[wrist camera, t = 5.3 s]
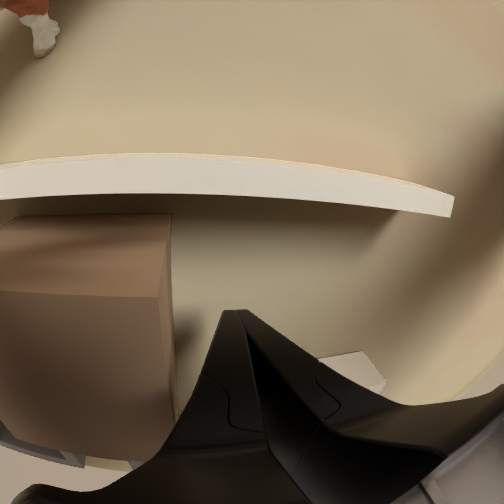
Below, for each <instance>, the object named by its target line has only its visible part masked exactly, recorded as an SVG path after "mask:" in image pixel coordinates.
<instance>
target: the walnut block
mask: <svg viewBox="0 0 504 504" xmlns="http://www.w3.org/2000/svg"><path fill="white" fill-rule="evenodd" d="M178 419H179V414H178V398H177V375H176V352H175V339H174V325H173V308H172V286H171V214H100V215H59V216H33V217H15V218H14V219H12V220H11V221H9V222H7V223H6V224H4V225H3V226H1V227H0V420H1V421H2V422H3V424H4V425H5V426H6V427H7V429H8V430H9V431H10V432H11V434H12V435H13V436H14V437H15V438H16V439H19V440H22V441H25V442H29V443H32V444H36V445H39V446H43V447H47V448H51V449H55V450H60V451H64V452H69V453H74V454H80V455H86V456H92V457H99V458H106V459H115V460H125V461H139V462H147V461H148V460H150V459H151V458H152V457H153V456H154V455H155V454H156V453H157V452H158V451H159V450H160V448H161V447H162V445H163V444H164V442H165V441H166V439H167V438H168V436H169V434H170V433H171V431H172V429H173V428H174V426H175V424H176V423H177V421H178Z"/></svg>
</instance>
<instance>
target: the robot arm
mask: <svg viewBox="0 0 504 504" xmlns="http://www.w3.org/2000/svg"><path fill="white" fill-rule="evenodd" d="M11 504H504V384H501V385H499V386H498V387H497V388H496V389H494V390H493V391H491V392H489V393H487V394H484V395H481V396H478V397H474V398H468V399H463V400H456V401H450V402H443V403H435V404H427V405H416V406H411V405H403V404H399V403H396V402H394V401H391V400H389V399H387V398H385V397H383V396H381V395H379V394H377V393H375V392H373V391H371V390H369V389H367V388H365V387H363V386H361V385H359V384H357V383H355V382H354V381H352V380H350V379H348V378H346V377H344V376H343V375H341V374H339V373H338V372H336V371H335V370H333V369H332V368H330V367H328V366H327V365H325V364H324V363H322V362H319V360H318V359H316V358H315V357H314V356H312V355H311V354H309V353H308V352H306V351H305V350H303V349H302V348H300V347H299V346H298V345H296V344H295V343H293V342H292V341H290V340H289V339H288V338H286V337H285V336H283V335H282V334H281V333H279V332H278V331H276V330H275V329H274V328H272V327H271V326H269V325H268V324H267V323H265V322H264V321H262V320H261V319H260V318H258V317H257V316H256V315H254V314H253V313H251V312H250V311H249V310H247V309H243V310H224V311H223V312H222V315H221V317H220V320H219V323H218V326H217V329H216V331H215V334H214V337H213V340H212V342H211V345H210V348H209V351H208V354H207V356H206V359H205V362H204V365H203V367H202V370H201V373H200V375H199V378H198V381H197V384H196V386H195V388H194V391H193V393H192V396H191V398H190V399H189V401H188V403H187V405H186V407H185V409H184V411H183V412H182V414H181V416H180V417H179V419H178V421H177V423H176V424H175V426H174V428H173V429H172V431H171V433H170V434H169V436H168V438H167V439H166V441H165V442H164V444H163V445H162V447H161V448H160V450H159V451H158V452H157V453H156V454H155V455H154V456H153V457H152V458H151V459H150V460H148V461H147V462H145V463H144V464H142V465H141V466H139V467H138V468H136V469H134V470H133V471H131V472H130V473H128V474H127V475H125V476H123V477H122V478H120V479H119V480H117V481H115V482H113V483H112V484H110V485H108V486H106V487H104V488H102V489H99V490H95V491H90V492H78V491H70V490H66V489H62V488H58V487H54V486H50V485H45V484H33V485H31V486H30V487H28V488H27V489H25V490H24V491H22V492H21V493H20V494H18V495H17V496H16V497H15V498H14V500H13V501H12V503H11Z"/></svg>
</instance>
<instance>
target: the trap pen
mask: <svg viewBox="0 0 504 504" xmlns="http://www.w3.org/2000/svg"><path fill="white" fill-rule="evenodd" d="M115 193H177V194H214V195H238V196H257V197H273V198H287V199H300V200H312V201H324V202H334V203H344V204H354V205H363V206H371V207H379V208H387V209H395V210H403V211H410V212H417V213H424V214H430V215H437V216H443V217H449V218H450V216H451V212H452V207H453V203H454V198H455V197H454V196H452V195H449V194H446V193H443V192H440V191H437V190H434V189H431V188H428V187H425V186H422V185H419V184H416V183H413V182H409V181H404V180H400V179H395V178H391V177H386V176H381V175H376V174H371V173H366V172H360V171H355V170H349V169H343V168H337V167H330V166H324V165H317V164H310V163H302V162H294V161H286V160H277V159H267V158H257V157H245V156H232V155H216V154H193V153H114V154H93V155H78V156H66V157H55V158H46V159H37V160H29V161H22V162H15V163H8V164H2V165H0V200H3V199H14V198H27V197H41V196H58V195H80V194H115ZM318 360H319V362H322V363H324V364H325V365H327V366H328V367H330V368H332V369H333V370H335V371H336V372H338V373H339V374H341V375H343V376H344V377H346V378H348V379H350V380H352V381H354V382H355V383H357V384H359V385H361V386H363V387H365V388H367V389H369V390H371V391H373V392H375V393H377V394H379V393H381V391H382V390H383V388H384V386H385V384H386V383H387V382H386V380H385V379H384V378H383V377H382V375H381V374H380V373H379V371H378V370H377V369H376V367H375V366H374V365H373V364H372V362H371V361H370V360H369V358H368V357H367V356H366V354H365V353H364V352H363V351H359V352H354V353H349V354H344V355H338V356H333V357H327V358H320V359H318ZM0 445H2V446H5V447H7V448H10V449H13V450H16V451H18V452H22V453H24V454H28V455H31V456H34V457H38V458H41V459H45V460H48V461H52V462H56V463H60V464H66V465H70V466H74V467H79V468H84V466H85V457H86V455H80V454H74V453H69V452H64V451H60V450H55V449H51V448H47V447H43V446H39V445H36V444H32V443H29V442H25V441H22V440H19V439H16V438H15V437H14V436H13V435H12V434H11V432H10V431H9V430H8V429H7V427H6V426H5V425H4V424H3V422H2V421H1V420H0ZM128 462H129V464H130V465H131V467H132V469H133V470H134V469H136V468H138V467H139V466H141V465H142V464H144V463H145V462H139V461H128Z"/></svg>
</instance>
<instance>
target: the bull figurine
mask: <svg viewBox="0 0 504 504" xmlns="http://www.w3.org/2000/svg"><path fill="white" fill-rule="evenodd" d="M4 8H6V9H8V10H10V11H12V12H14V13H16V14H18V16H19V20H20V21H21V23H22V24H24V25H26V26H29V27H31V29H32V34H33V38H34V42H33V49H32V50H33V54H34V55H35V56H36V57H37V58H41V57H44V56H45V55H47V54H49V53H50V52H51V51H52V50H53V48H54V47H55V44H56V40H55V36H56V35H57V34H58V33H59V32H60V29H59V27H58V26H57V25H58V22H57V21H55V20H51V19H50V18H49V16H48V10H49V0H0V11H1V10H3V9H4Z"/></svg>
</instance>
